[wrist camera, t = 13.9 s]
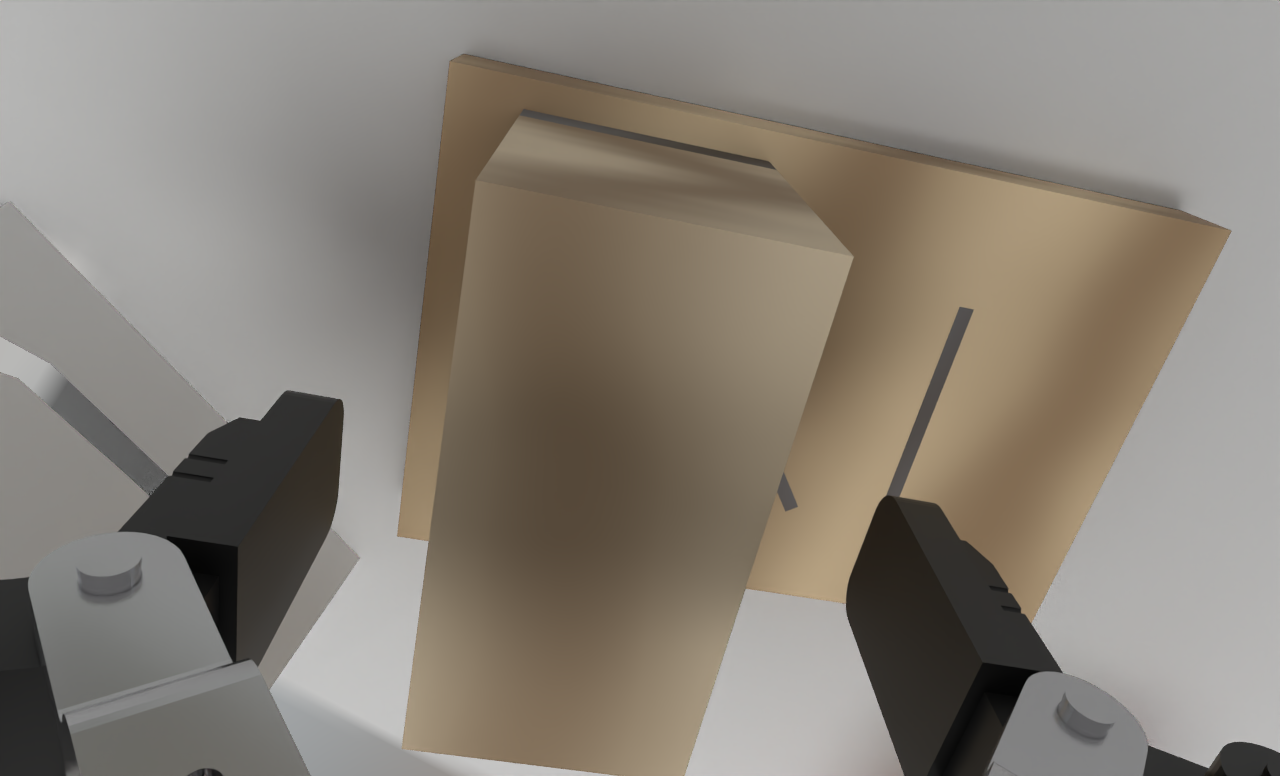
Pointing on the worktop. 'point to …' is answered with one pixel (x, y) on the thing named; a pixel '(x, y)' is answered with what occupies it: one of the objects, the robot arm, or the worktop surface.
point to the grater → (129, 397)
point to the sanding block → (611, 442)
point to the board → (888, 330)
